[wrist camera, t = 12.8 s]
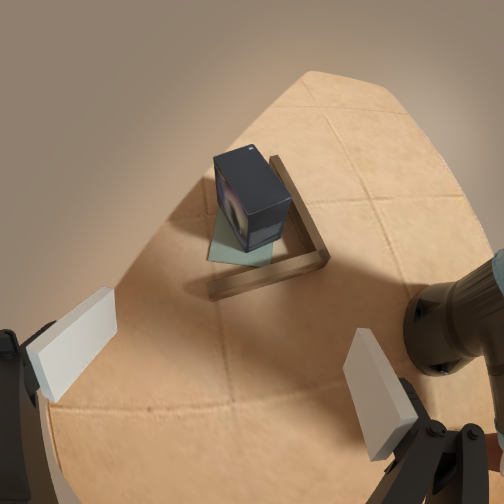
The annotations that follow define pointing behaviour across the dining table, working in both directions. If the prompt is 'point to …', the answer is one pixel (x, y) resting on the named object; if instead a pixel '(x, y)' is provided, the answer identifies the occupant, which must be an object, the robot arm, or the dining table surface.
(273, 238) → the small box
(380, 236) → the dining table surface
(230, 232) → the pad
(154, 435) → the dining table surface
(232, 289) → the walnut corner fence
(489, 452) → the coffee cup
